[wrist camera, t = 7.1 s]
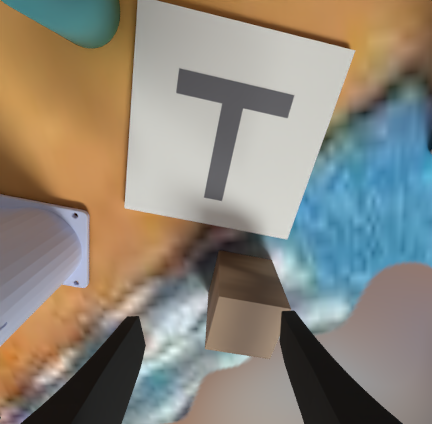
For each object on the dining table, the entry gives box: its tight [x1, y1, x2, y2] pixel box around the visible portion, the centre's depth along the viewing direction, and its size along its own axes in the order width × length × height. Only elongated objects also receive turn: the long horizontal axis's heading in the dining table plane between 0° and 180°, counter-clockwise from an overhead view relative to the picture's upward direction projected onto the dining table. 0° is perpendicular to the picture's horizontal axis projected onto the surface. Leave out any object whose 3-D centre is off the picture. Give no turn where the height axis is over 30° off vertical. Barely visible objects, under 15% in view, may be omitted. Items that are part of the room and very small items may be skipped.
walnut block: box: [205, 250, 291, 359], centre depth 19 cm, size 5×5×6 cm
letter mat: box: [125, 0, 355, 239], centre depth 17 cm, size 14×14×1 cm
